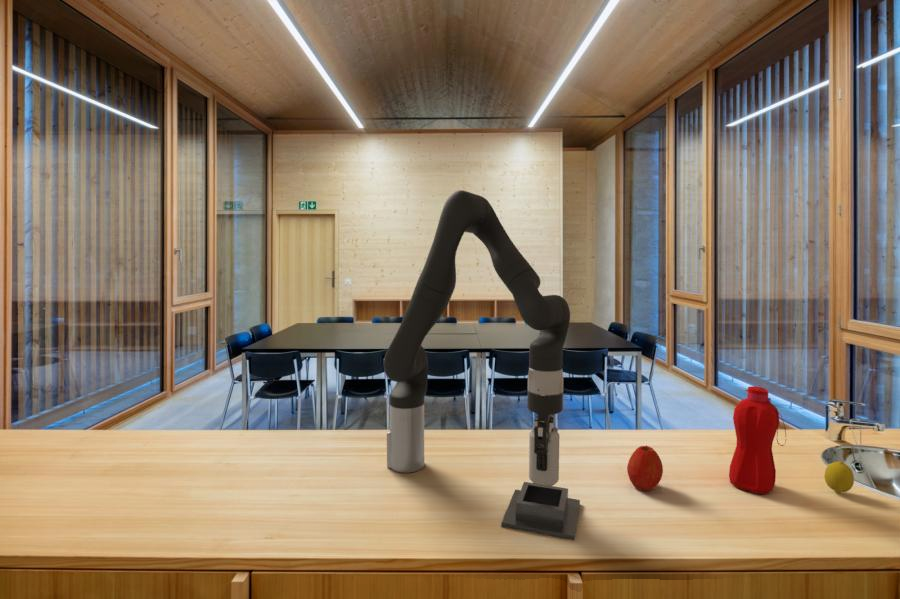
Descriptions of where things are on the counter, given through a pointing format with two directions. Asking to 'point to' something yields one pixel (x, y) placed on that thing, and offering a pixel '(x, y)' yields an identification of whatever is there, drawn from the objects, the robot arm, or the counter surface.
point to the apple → (645, 468)
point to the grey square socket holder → (543, 511)
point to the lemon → (839, 477)
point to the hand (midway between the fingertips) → (544, 463)
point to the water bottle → (754, 442)
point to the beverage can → (552, 471)
